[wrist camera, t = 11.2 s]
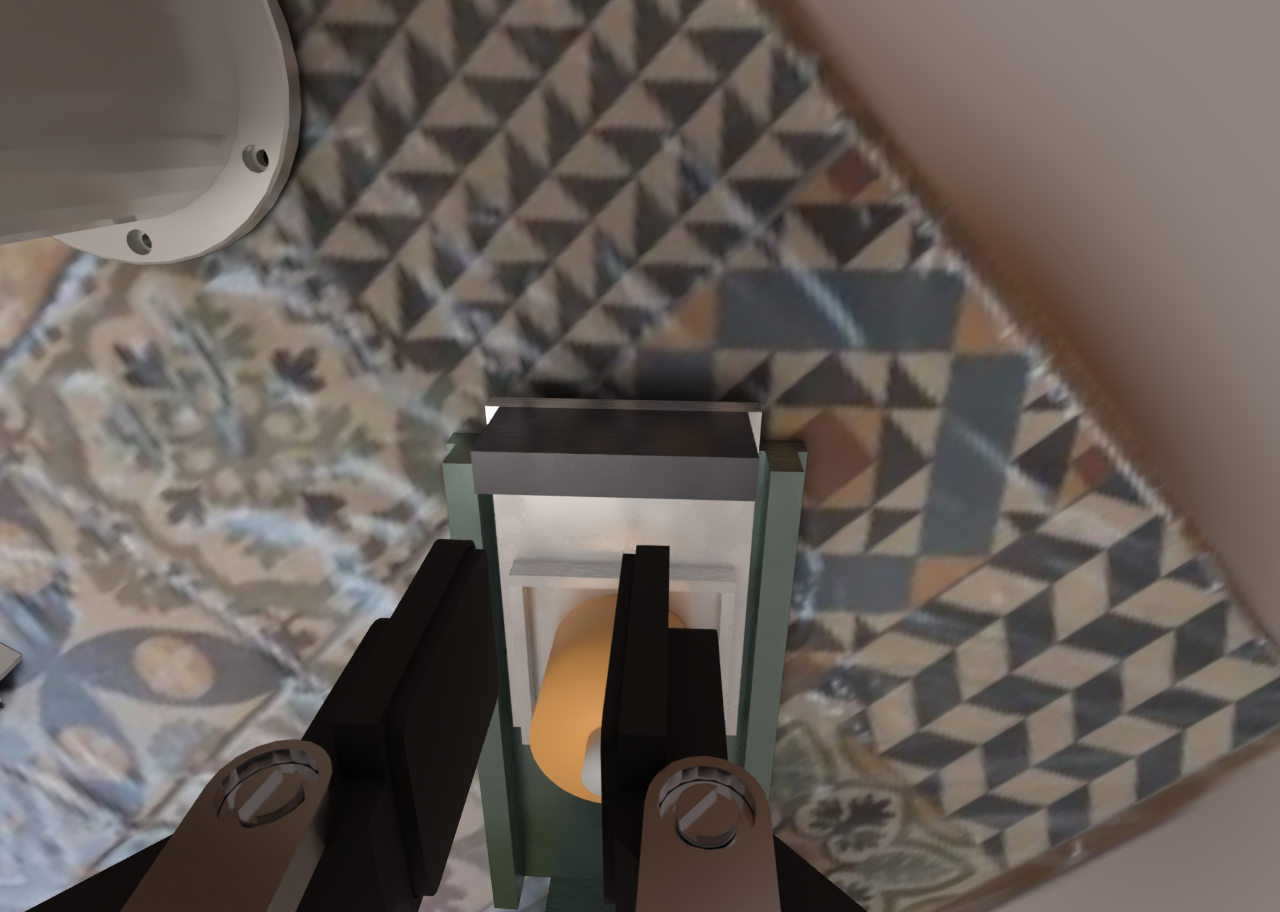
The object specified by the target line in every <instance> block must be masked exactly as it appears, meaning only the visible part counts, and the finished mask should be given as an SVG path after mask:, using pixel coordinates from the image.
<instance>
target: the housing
mask: <svg viewBox="0 0 1280 912" xmlns="http://www.w3.org/2000/svg"><path fill="white" fill-rule="evenodd" d="M616 603H617V595H608V596H602V597H598V598H594V599H592V600H589V601H587V602H584V603H583V604H581V605H579V606H577V607H576V608H575V609H573V610H572V611H571V612H570V613H569V614H568V615H567V616H566V617H565V618H564V619H563V621H562V622H561V623H560V625H559V627H558V629H557V631H556V634H555V637H554V641H553V645H552V648H551V652H550V656H549V659H548V663H547V667H546V671H545V674H544V678H543V682H542V685H541V689H540V693H539V697H538V700H537V704H536V708H535V711H534V715H533V719H532V722H531V726H530V733H529V739H530V747H531V751H532V754H533V757H534V759H535V761H536V763H537V764H538V766H539V767H540V769H541V770H542V771H543V773H544V774H545V775H546V776H547V777H548V778H549V779H550V780H551V781H552V782H554V783H555V784H556V785H557V786H559V787H560V788H562V789H563V790H565V791H567V792H569V793H571V794H573V795H575V796H577V797H580V798H582V799H585V800H589V801H592V802H597V803H601V759H600V743H601V724H602V713H603V705H604V697H605V689H606V681H607V674H608V666H609V658H610V650H611V642H612V634H613V626H614V618H615V611H616ZM669 628H686V627H685V625H684V624H683V623H682V622H681V620H680V619H679V618H678V617H677V616H676V615H675V614H673V613H672V612H671V611H669Z"/></svg>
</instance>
